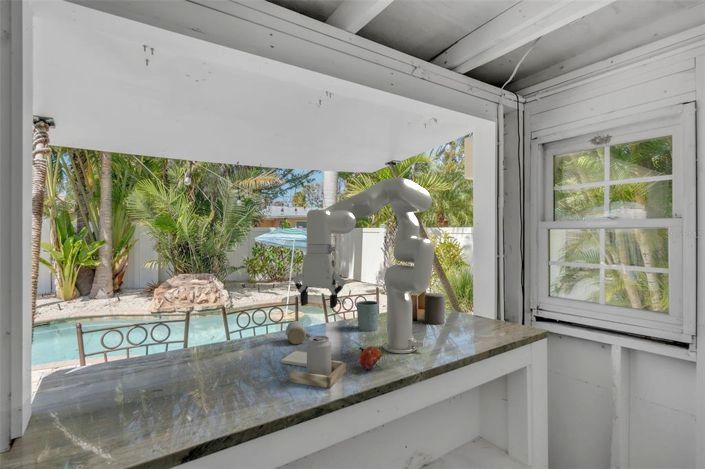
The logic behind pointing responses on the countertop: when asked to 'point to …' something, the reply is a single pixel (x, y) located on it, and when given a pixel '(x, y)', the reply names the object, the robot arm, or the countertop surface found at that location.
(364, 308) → the teal cup
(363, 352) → the red tomato
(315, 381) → the open wooden frame
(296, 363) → the tile
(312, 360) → the can
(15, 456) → the countertop surface
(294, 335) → the ceramic mug
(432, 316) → the pillar candle
